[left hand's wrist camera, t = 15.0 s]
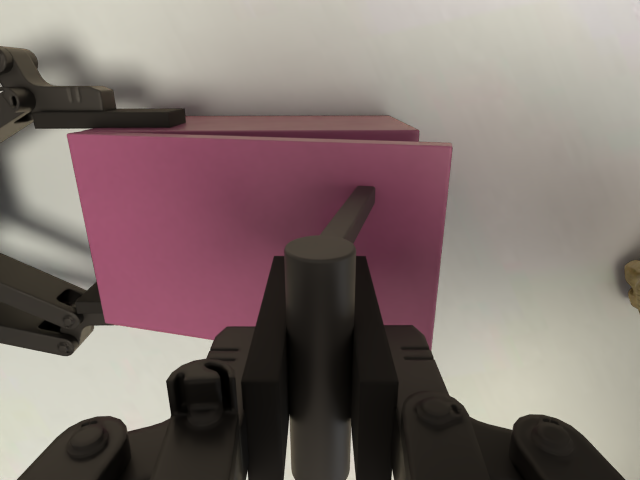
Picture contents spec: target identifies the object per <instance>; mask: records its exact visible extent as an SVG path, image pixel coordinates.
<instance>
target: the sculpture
mask: <svg viewBox="0 0 640 480" xmlns="http://www.w3.org/2000/svg"><path fill="white" fill-rule="evenodd" d="M624 271H625V279H626V282H627V283H628V284H629V285H630V286H631V287H632V288H631V289H630V290H629V292H628V296H629V299H630V302H631V305H632V306H633V307H635V308H637V309H638V310H639V313H640V261H639V260H633V261H630V262H629V263H627V264H626V265H625V268H624Z"/></svg>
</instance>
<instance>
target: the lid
mask: <svg viewBox="0 0 640 480" xmlns="http://www.w3.org/2000/svg"><path fill="white" fill-rule="evenodd" d="M67 138H68V143H69V148H70V153H71V158H72V163H73V168H74V172H75V177H76V182H77V187H78V192H79V197H80V202H81V207H82V212H83V217H84V221H85V226H86V231H87V236H88V241H89V246H90V251H91V256H92V261H93V266H94V270H95V275H96V280H97V285H98V290H99V295H100V300H101V305H102V310H103V315H104V319H105V323H108V324H114V325H120V326H127V327H133V328H140V329H146V330H152V331H159V332H165V333H172V334H178V335H184V336H191V337H197V338H204V339H210V340H214V339H215V337H216V336H217V335H218V334H219V333H220V332H221V331H222V330H223V329H225V328H226V327H227V326H256V322H257V318H258V315H259V311H260V307H261V303H262V299H263V296H264V292H265V288H266V284H267V280H268V277H269V273H270V269H271V265H272V261H273V258H274V256H284V263H285V292H286V322H287V352H288V381H289V411H290V441H291V469H292V474H293V476H294V478H295V480H346V479H347V477H348V474H349V471H350V444H351V388H352V355H353V328H354V309H355V276H356V256H366V259H367V263H368V267H369V270H370V274H371V278H372V282H373V286H374V290H375V293H376V297H377V301H378V305H379V309H380V312H381V316H382V320H383V324H384V325H413V326H414V327H416V328H417V329H418V330H419V331H420V332H421V333H422V334H423V335H424V336H425V338H426V340H427V343H428V345H429V350H431V348H432V339H433V329H434V320H435V310H436V301H437V291H438V282H439V272H440V263H441V253H442V243H443V234H444V224H445V215H446V205H447V196H448V186H449V177H450V167H451V158H452V144H451V143H441V142H409V141H377V140H345V139H313V138H281V137H249V136H217V135H185V134H153V133H121V132H89V131H81V132H74V133H68V134H67Z"/></svg>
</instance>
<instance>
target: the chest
mask: <svg viewBox="0 0 640 480" xmlns="http://www.w3.org/2000/svg"><path fill="white" fill-rule="evenodd" d="M185 118H186V123H183V124H180V125H177V126H174V127H171V128H93V129H89V130H84V131H89V132H121V133H153V134H185V135H217V136H249V137H281V138H313V139H345V140H377V141H409V142H419V130H418V129H415V128H413V127H411V126H409V125H407V124H405V123H403V122H401V121H399V120H397V119H395V118H393V117H391V116H185Z"/></svg>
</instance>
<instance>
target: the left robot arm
mask: <svg viewBox="0 0 640 480" xmlns="http://www.w3.org/2000/svg"><path fill="white" fill-rule="evenodd" d="M166 383H167V390H168V397H169V403H170V410H171V418H170V419H168V420H166V421H164V422H162V423H159V424H156V425H153V426H149V427H145V428H141V429H137V430H133V431H128V432H127V427H126V425H125V424H124V423H123V422H122V421H121V420H120V419H117V418H114V417H111V416H100V417H94V418H90V419H87V420H83V421H81V422H79V423H77V424H75V425H73V426H71V427H69V428H68V429H66V430H65V431H64V432H63V433H62V434H60V435H59V436H58V437H57V438H56V439H55V440H54V441H53V442H52V443H51V444H50V445H49V446H48V447H47V448H46V449H45V450H44V451H43V453H42V454H41V455H40V456H39V457H38V458H37V459H36V460H35V461H34V462H33V463H32V464H31V465H30V466H29V467H28V468H27V469H26V471H25V472H24V473H23V474H22V475H21V476H20V477H19V478H18V479H17V480H246V476H247V471H248V480H284V469H285V458H286V447H287V436H288V425H289V414H290V411H289V381H288V352H287V322H286V292H285V263H284V256H274V258H273V261H272V265H271V269H270V273H269V277H268V280H267V284H266V288H265V292H264V296H263V299H262V303H261V307H260V311H259V315H258V318H257V322H256V326H227V327H226V328H225V329H223V330H222V331H221V332H220V333H219V334H218V335H217V336H216V337H215V339H214V341H213V344H212V346H211V348H210V351H209V353H208V356H207V358H206V359H202V360H196V361H192V362H189V363H187V364H184V365H182V366H180V367H179V368H178V369H176V370H175V371H174V372H172V373H171V375H170V376H169V378H168V379H167V381H166ZM351 429H352V440H353V451H354V462H355V473H356V480H391V476H392V470H393V476H394V480H625V479H624V478H623V477H622V476H621V475H620V474H619V473H618V472H617V470H616V469H615V468H614V467H613V466H612V465H611V464H610V463H609V462H608V461H607V460H606V459H605V458H604V457H603V456H602V455H601V454H600V453H599V452H598V450H597V449H596V448H595V447H594V446H593V445H592V444H591V443H590V442H589V441H588V440H587V439H586V438H585V437H584V436H583V435H582V434H581V433H580V432H578V431H577V430H576V429H575V428H573V427H572V426H571V425H569V424H567V423H565V422H563V421H561V420H559V419H556V418H553V417H549V416H545V415H533V414H529V415H526V416H523V417H520V418H519V419H518V420H517V421H516V422H515V423H514V425H513V430H510V429H506V428H502V427H498V426H494V425H489V424H486V423H483V422H480V421H477V420H475V419H473V418H471V417H469V414H468V413H467V411H466V409H465V408H464V406H463V405H462V404H461V403H459V402H458V401H457V400H456V399H455V398H453V397H451V396H449V394H448V391H447V389H446V386H445V384H444V382H443V379H442V377H441V374H440V372H439V369H438V367H437V365H436V362H435V360H434V359H433V355H432V353H431V350H429V345H428V343H427V340H426V338H425V336H424V335H423V334H422V333H421V332H420V331H419V330H418V329H417V328H416V327H414V326H413V325H384V324H383V320H382V316H381V312H380V309H379V305H378V301H377V297H376V293H375V290H374V286H373V282H372V278H371V274H370V270H369V267H368V263H367V259H366V256H356V276H355V309H354V328H353V355H352V388H351Z"/></svg>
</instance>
